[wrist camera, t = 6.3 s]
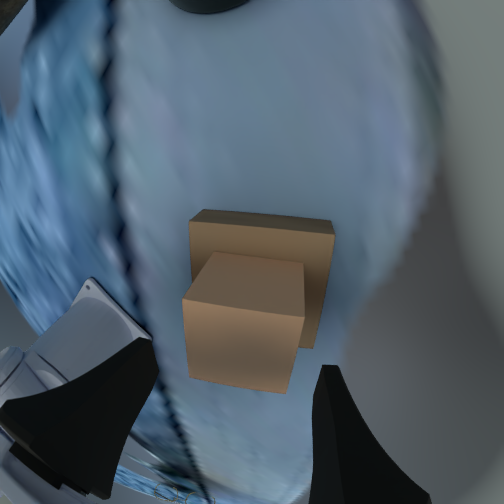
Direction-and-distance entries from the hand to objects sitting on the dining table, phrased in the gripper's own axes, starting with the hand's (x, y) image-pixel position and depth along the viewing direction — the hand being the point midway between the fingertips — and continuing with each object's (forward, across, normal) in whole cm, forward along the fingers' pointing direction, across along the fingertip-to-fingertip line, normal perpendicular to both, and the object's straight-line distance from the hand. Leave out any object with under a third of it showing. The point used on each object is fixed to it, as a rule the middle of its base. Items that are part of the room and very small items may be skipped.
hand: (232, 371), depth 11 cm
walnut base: (+9, 0, 0) cm, 9 cm away
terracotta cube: (+6, 0, 0) cm, 6 cm away
